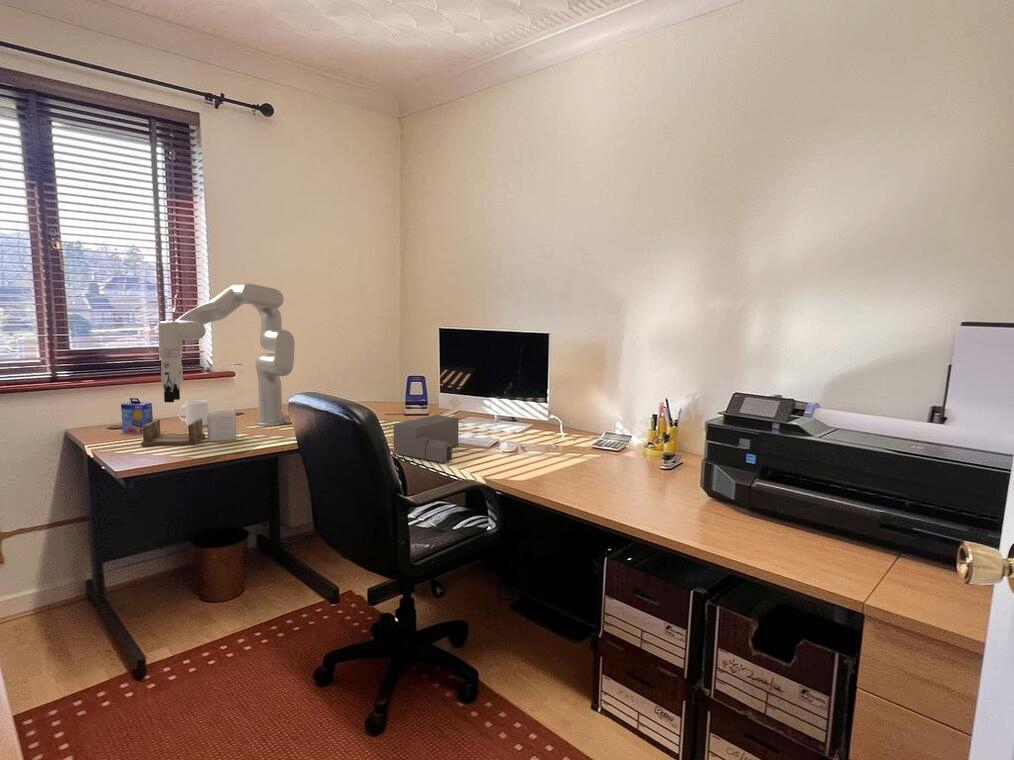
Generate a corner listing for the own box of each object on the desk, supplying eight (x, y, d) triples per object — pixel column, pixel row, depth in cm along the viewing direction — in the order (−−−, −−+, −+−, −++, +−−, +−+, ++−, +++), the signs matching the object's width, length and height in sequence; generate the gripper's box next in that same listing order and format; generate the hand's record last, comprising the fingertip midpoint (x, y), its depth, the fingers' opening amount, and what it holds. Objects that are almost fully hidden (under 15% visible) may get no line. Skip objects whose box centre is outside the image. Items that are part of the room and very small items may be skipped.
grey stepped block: (442, 462, 200) (442, 432, 199) (393, 452, 213) (393, 423, 212) (483, 449, 221) (484, 422, 220) (436, 441, 234) (437, 414, 232)
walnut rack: (154, 438, 225) (154, 419, 224) (205, 436, 229) (204, 418, 228) (141, 446, 211) (140, 426, 210) (194, 444, 216) (194, 425, 215)
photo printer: (235, 437, 229) (234, 407, 228) (237, 439, 226) (236, 409, 224) (206, 440, 223) (205, 409, 222) (208, 442, 220) (207, 411, 218)
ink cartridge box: (121, 433, 232) (119, 398, 230) (131, 430, 237) (129, 396, 235) (145, 434, 231) (143, 398, 229) (154, 431, 237) (152, 396, 235)
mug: (183, 423, 254) (182, 399, 253) (211, 424, 255) (211, 400, 254) (174, 427, 245) (173, 402, 244) (203, 427, 246) (202, 403, 245)
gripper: (174, 355, 209) (175, 404, 211) (188, 352, 226) (189, 397, 227) (151, 355, 207) (153, 404, 209) (167, 352, 224) (168, 397, 226)
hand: (172, 400), depth 218 cm, fingers open, 6 cm apart
